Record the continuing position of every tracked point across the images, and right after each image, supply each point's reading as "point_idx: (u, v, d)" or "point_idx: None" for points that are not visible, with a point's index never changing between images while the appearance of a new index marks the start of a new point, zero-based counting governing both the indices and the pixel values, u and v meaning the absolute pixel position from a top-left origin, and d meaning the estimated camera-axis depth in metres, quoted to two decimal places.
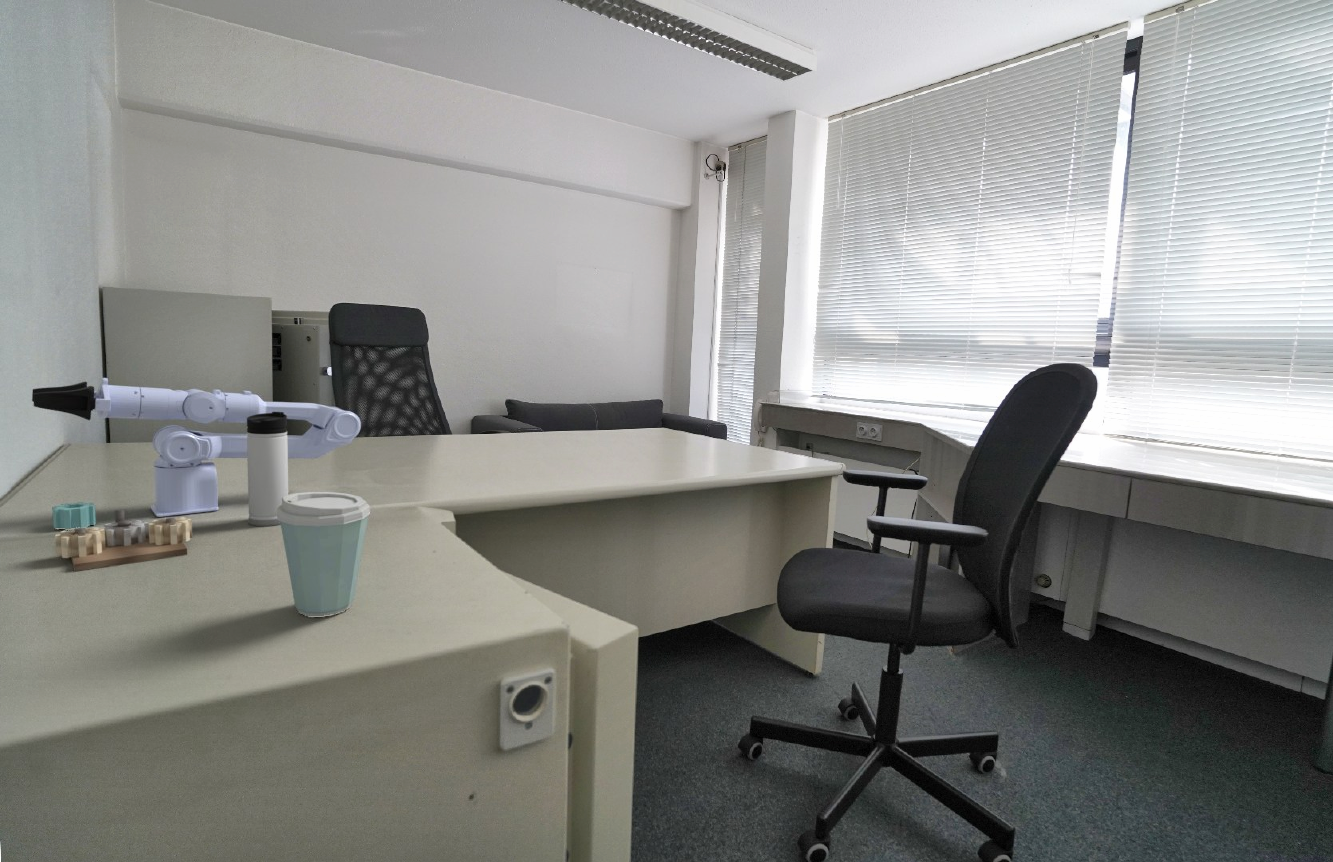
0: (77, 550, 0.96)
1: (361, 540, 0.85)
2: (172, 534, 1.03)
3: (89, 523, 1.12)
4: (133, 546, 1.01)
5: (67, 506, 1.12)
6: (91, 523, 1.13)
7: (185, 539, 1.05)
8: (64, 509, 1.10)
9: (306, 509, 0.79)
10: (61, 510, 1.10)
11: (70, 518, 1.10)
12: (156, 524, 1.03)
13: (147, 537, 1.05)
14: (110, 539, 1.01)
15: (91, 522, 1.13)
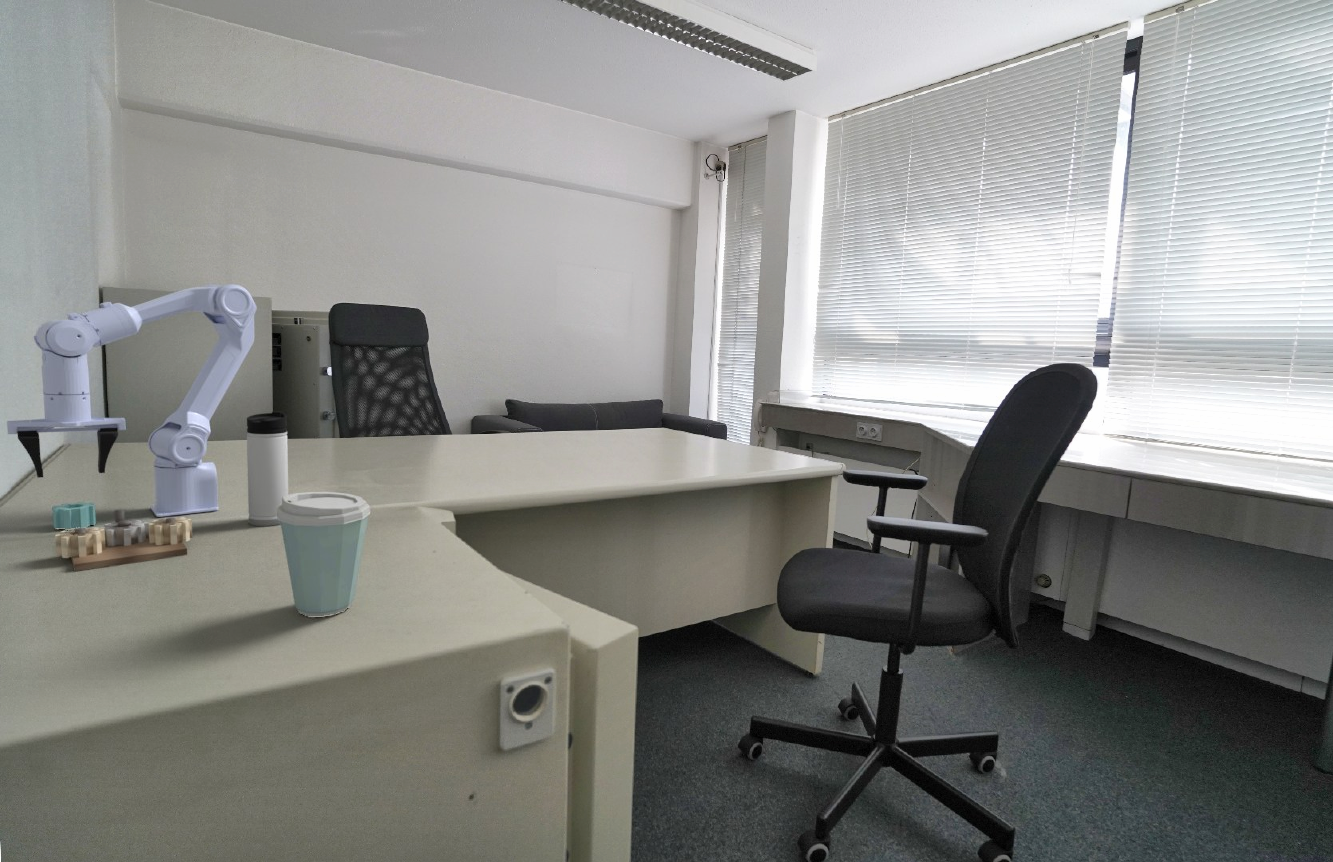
0: (77, 550, 0.96)
1: (361, 540, 0.85)
2: (172, 534, 1.03)
3: (89, 523, 1.12)
4: (133, 546, 1.01)
5: (67, 506, 1.12)
6: (91, 523, 1.13)
7: (185, 539, 1.05)
8: (64, 509, 1.10)
9: (306, 509, 0.79)
10: (61, 510, 1.10)
11: (70, 518, 1.10)
12: (156, 524, 1.03)
13: (147, 537, 1.05)
14: (110, 539, 1.01)
15: (91, 522, 1.13)
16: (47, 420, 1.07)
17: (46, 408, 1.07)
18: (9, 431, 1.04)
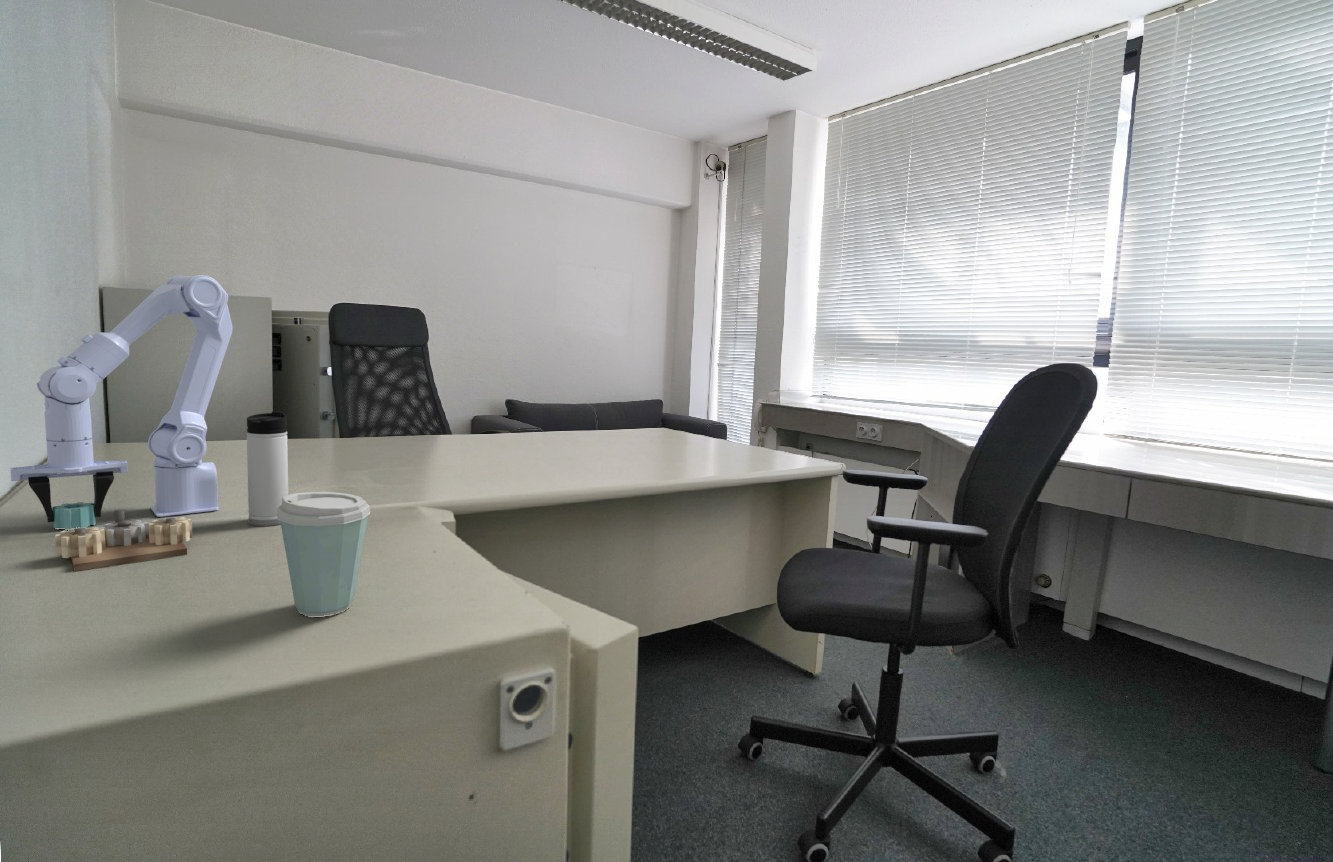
0: (77, 550, 0.96)
1: (361, 540, 0.85)
2: (172, 534, 1.03)
3: (89, 523, 1.12)
4: (133, 546, 1.01)
5: (67, 506, 1.12)
6: (91, 523, 1.13)
7: (185, 539, 1.05)
8: (64, 509, 1.10)
9: (306, 509, 0.79)
10: (61, 510, 1.10)
11: (70, 518, 1.10)
12: (156, 524, 1.03)
13: (147, 537, 1.05)
14: (110, 539, 1.01)
15: (91, 522, 1.13)
16: (50, 466, 1.08)
17: (49, 454, 1.08)
18: (12, 478, 1.05)
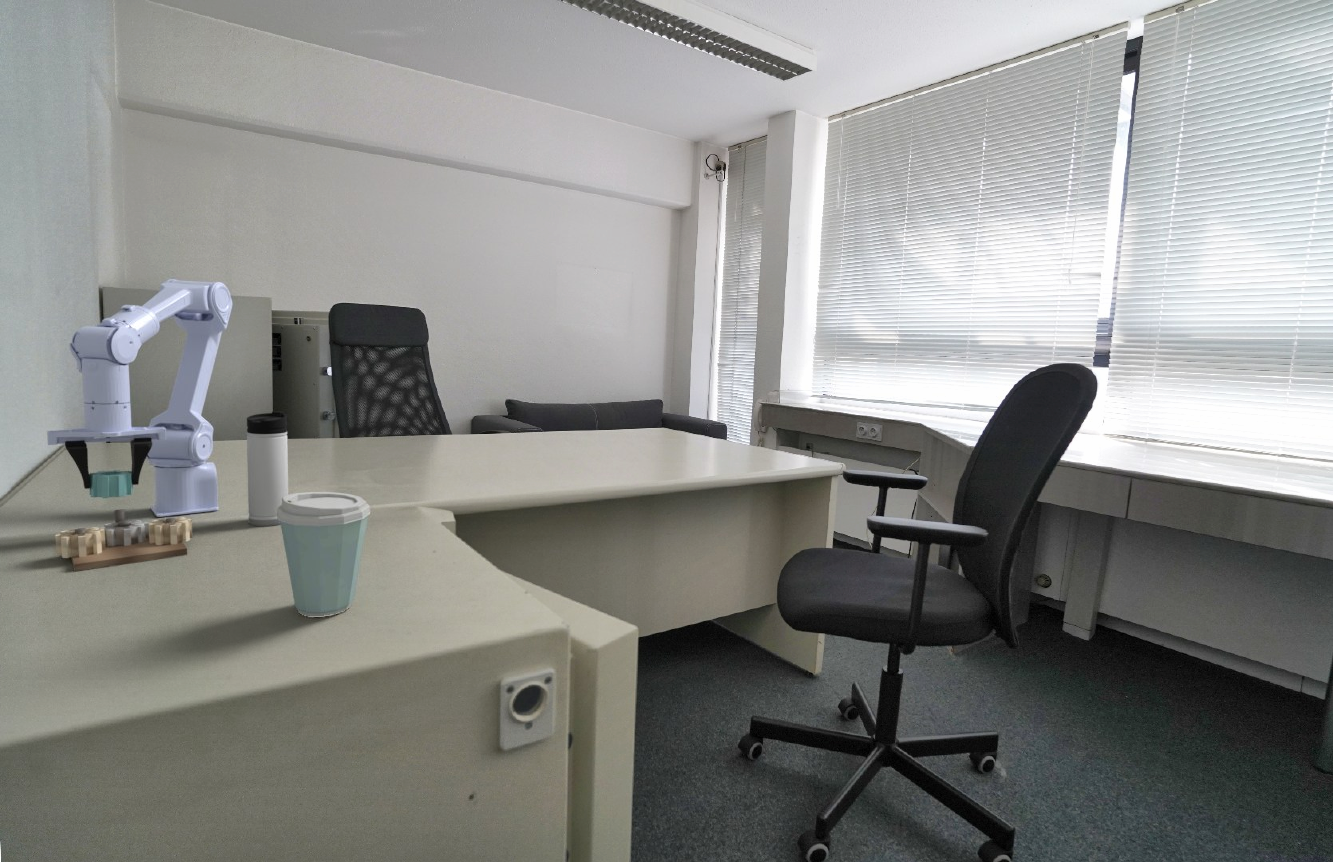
0: (77, 550, 0.96)
1: (361, 540, 0.85)
2: (172, 534, 1.03)
3: (126, 491, 1.08)
4: (133, 546, 1.01)
5: (104, 473, 1.07)
6: (128, 491, 1.08)
7: (185, 539, 1.05)
8: (102, 475, 1.05)
9: (306, 509, 0.79)
10: (99, 476, 1.05)
11: (108, 485, 1.05)
12: (156, 524, 1.03)
13: (147, 537, 1.05)
14: (110, 539, 1.01)
15: (128, 490, 1.08)
16: (87, 430, 1.04)
17: (87, 417, 1.03)
18: (49, 441, 1.01)
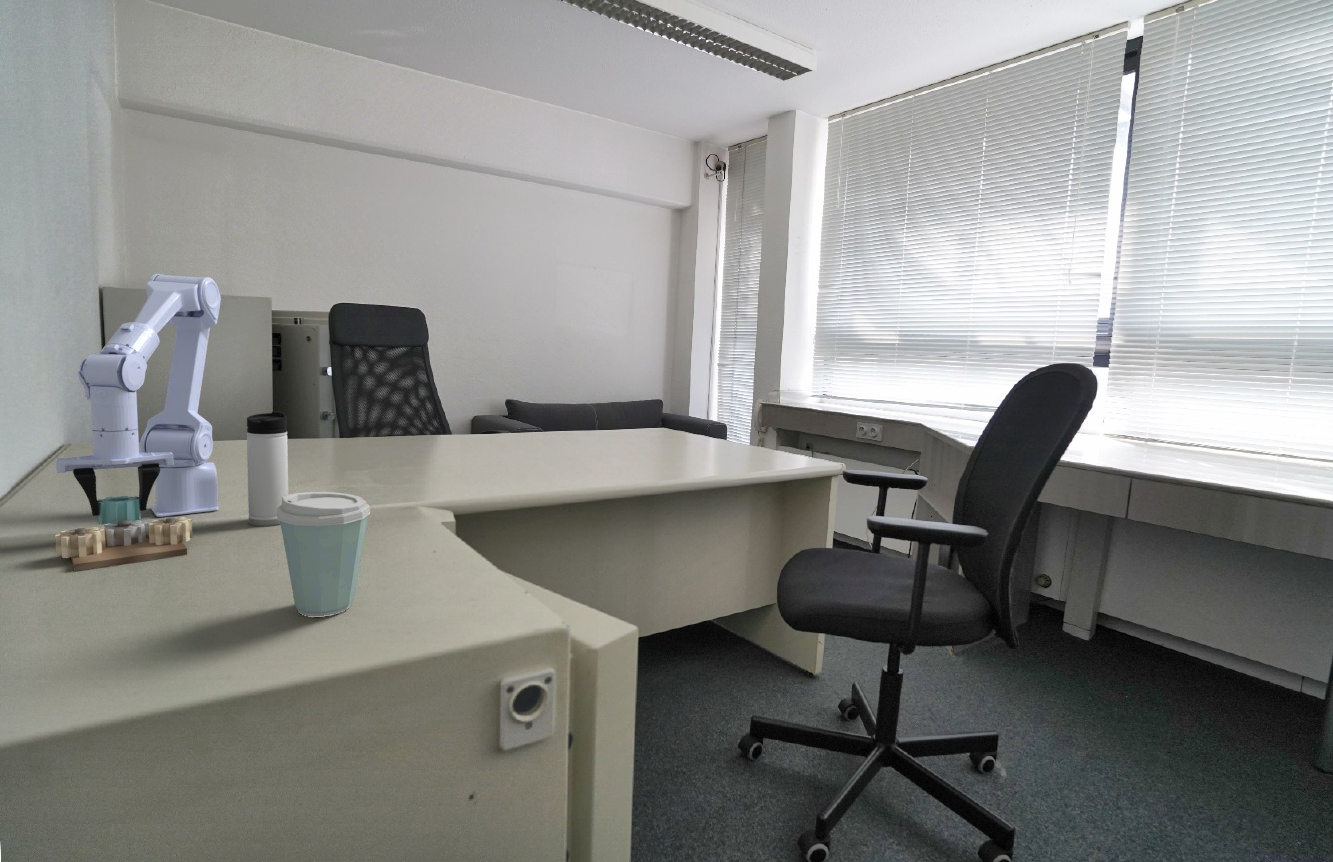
0: (77, 550, 0.96)
1: (361, 540, 0.85)
2: (172, 534, 1.03)
3: (134, 517, 1.08)
4: (133, 546, 1.01)
5: (112, 499, 1.08)
6: (136, 517, 1.08)
7: (185, 539, 1.05)
8: (110, 502, 1.05)
9: (306, 509, 0.79)
10: (107, 503, 1.05)
11: (116, 512, 1.06)
12: (156, 524, 1.03)
13: (147, 537, 1.05)
14: (110, 539, 1.01)
15: (136, 516, 1.08)
16: (96, 457, 1.04)
17: (95, 445, 1.04)
18: (58, 470, 1.01)
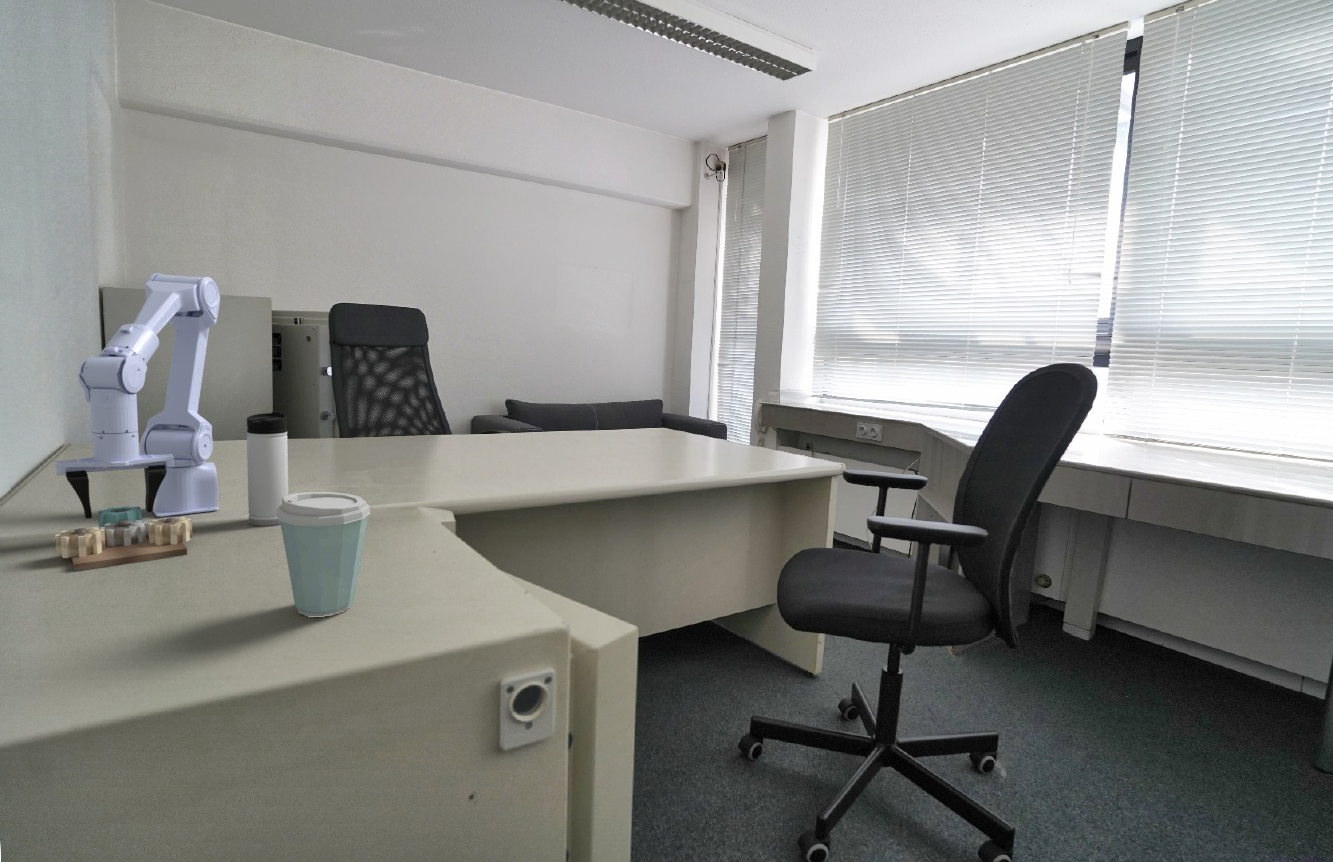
0: (77, 550, 0.96)
1: (361, 540, 0.85)
2: (172, 534, 1.03)
3: None
4: (133, 546, 1.01)
5: (113, 510, 1.08)
6: None
7: (185, 539, 1.05)
8: (111, 513, 1.06)
9: (306, 509, 0.79)
10: (108, 514, 1.06)
11: None
12: (156, 524, 1.03)
13: (147, 537, 1.05)
14: (110, 539, 1.01)
15: None
16: (96, 460, 1.04)
17: (95, 447, 1.04)
18: (58, 472, 1.01)
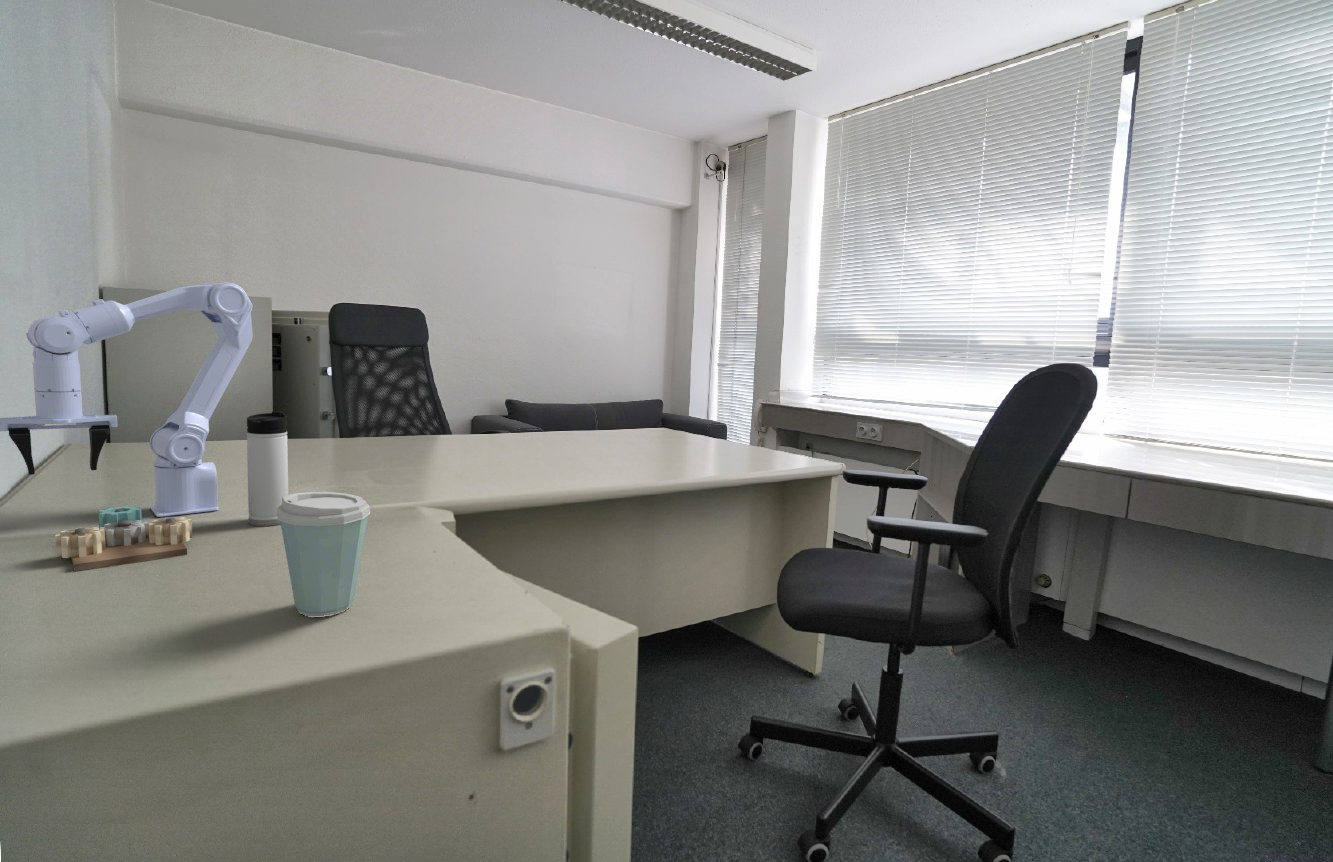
0: (77, 550, 0.96)
1: (361, 540, 0.85)
2: (172, 534, 1.03)
3: None
4: (133, 546, 1.01)
5: (113, 510, 1.08)
6: None
7: (185, 539, 1.05)
8: (111, 513, 1.06)
9: (306, 509, 0.79)
10: (108, 514, 1.06)
11: None
12: (156, 524, 1.03)
13: (147, 537, 1.05)
14: (110, 539, 1.01)
15: None
16: (38, 417, 1.07)
17: (37, 405, 1.07)
18: (0, 428, 1.04)
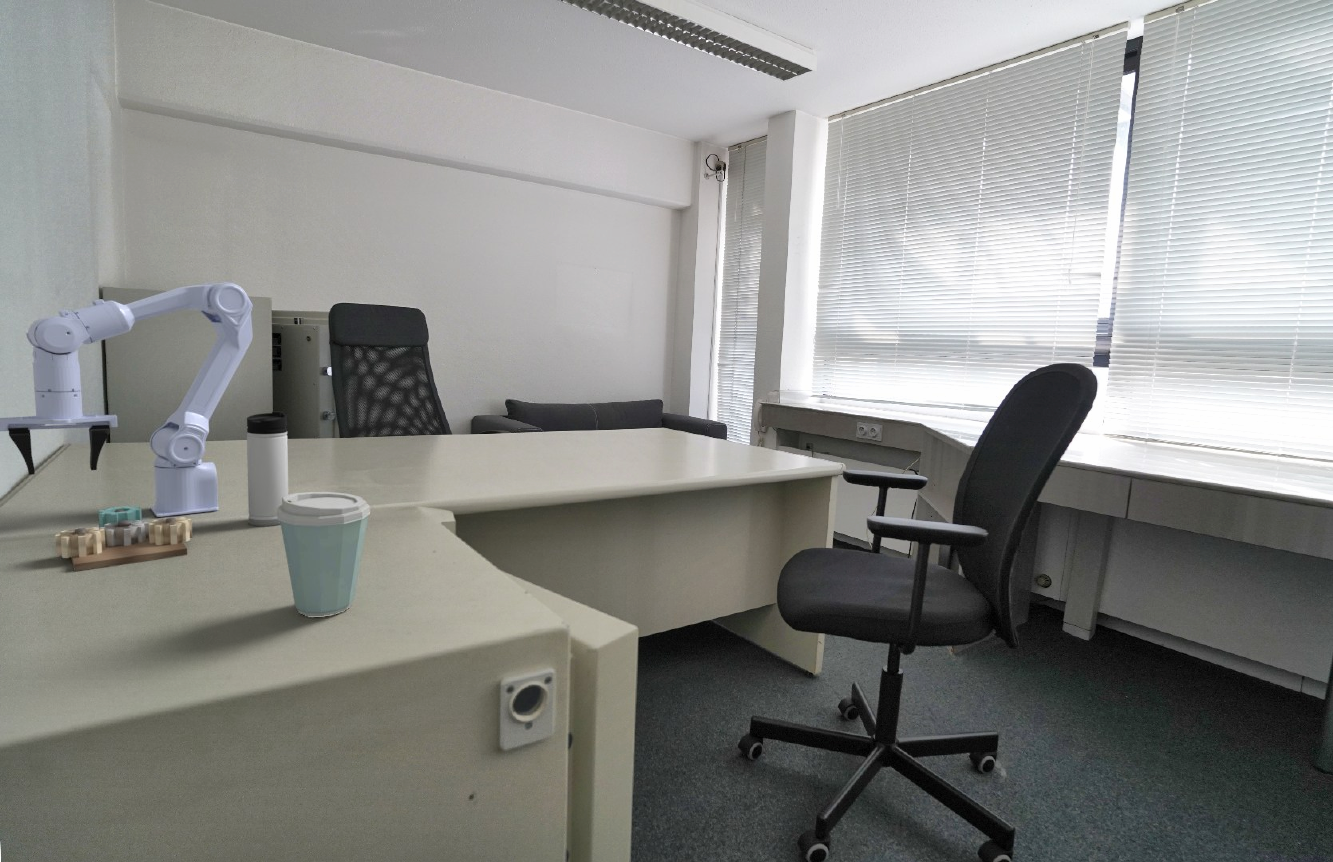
0: (77, 550, 0.96)
1: (361, 540, 0.85)
2: (172, 534, 1.03)
3: None
4: (133, 546, 1.01)
5: (113, 510, 1.08)
6: None
7: (185, 539, 1.05)
8: (111, 513, 1.06)
9: (306, 509, 0.79)
10: (108, 514, 1.06)
11: None
12: (156, 524, 1.03)
13: (147, 537, 1.05)
14: (110, 539, 1.01)
15: None
16: (38, 417, 1.07)
17: (37, 405, 1.07)
18: (0, 428, 1.04)
